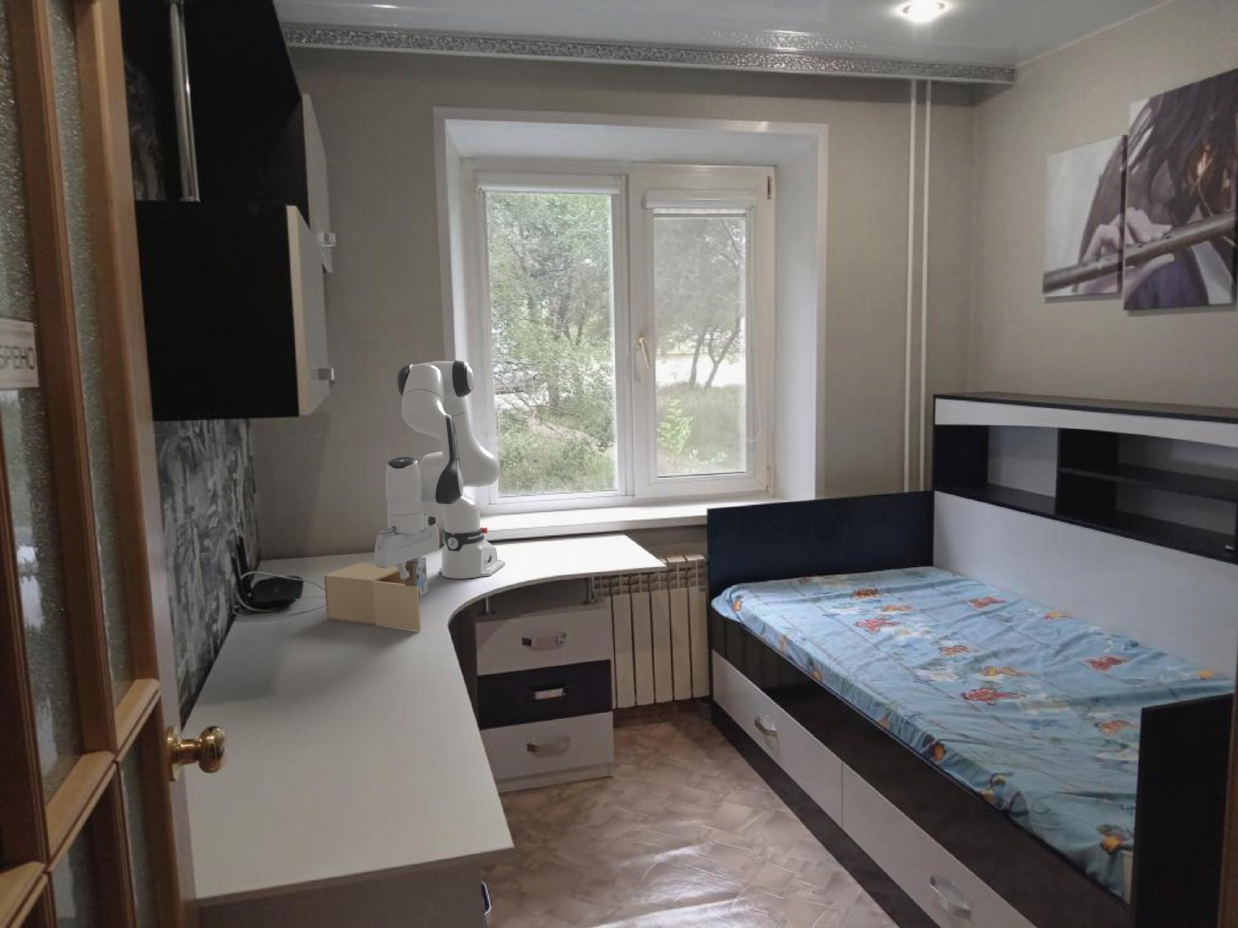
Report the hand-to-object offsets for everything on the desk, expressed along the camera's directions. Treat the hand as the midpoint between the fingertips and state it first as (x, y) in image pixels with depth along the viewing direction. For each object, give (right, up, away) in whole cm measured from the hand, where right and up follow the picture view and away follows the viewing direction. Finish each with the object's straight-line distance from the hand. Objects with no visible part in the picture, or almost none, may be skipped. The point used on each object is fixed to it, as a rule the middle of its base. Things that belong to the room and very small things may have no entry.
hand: (409, 576), depth 214 cm
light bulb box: (-8, -10, +32) cm, 35 cm away
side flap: (-4, -14, +4) cm, 15 cm away
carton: (-15, -12, +17) cm, 26 cm away
